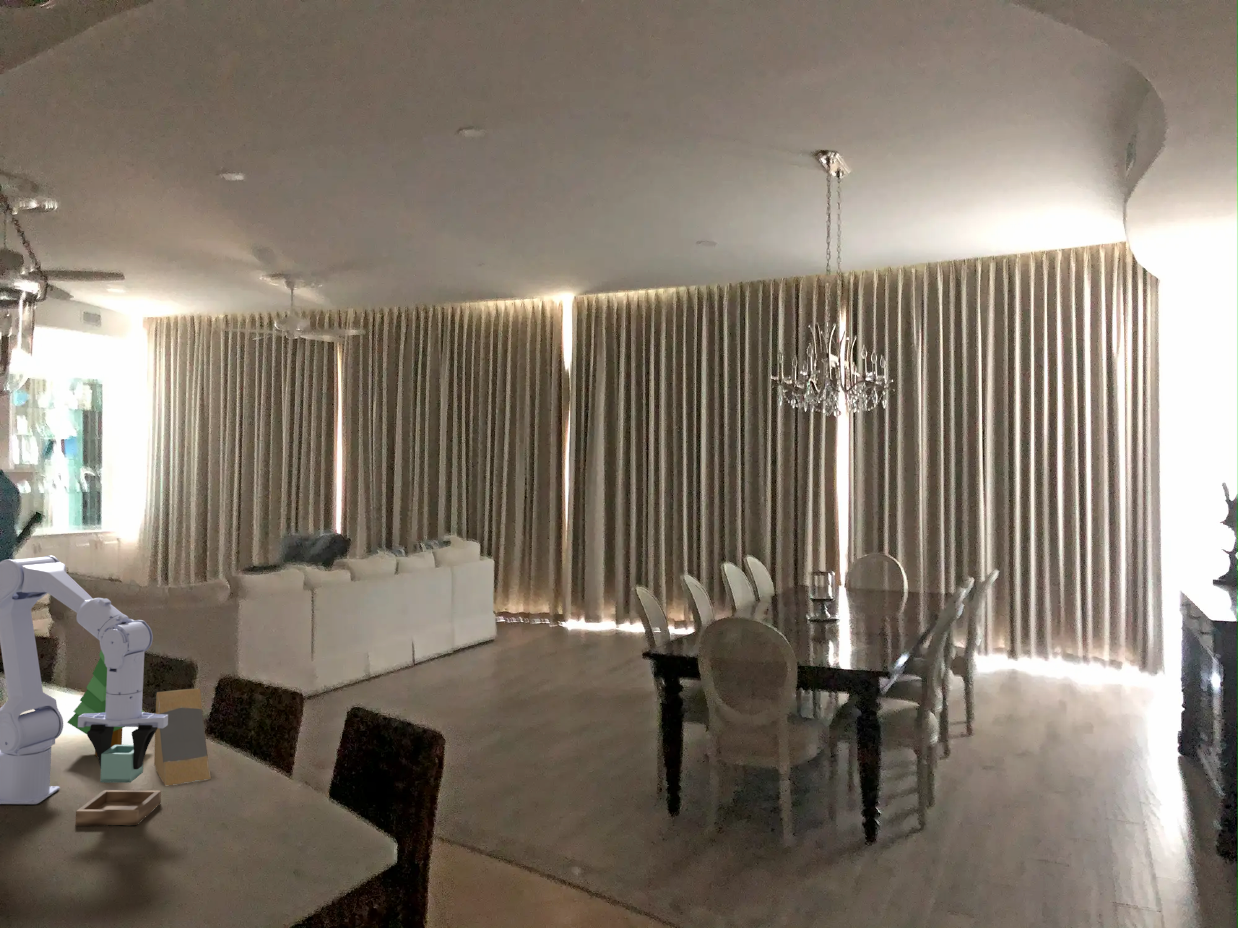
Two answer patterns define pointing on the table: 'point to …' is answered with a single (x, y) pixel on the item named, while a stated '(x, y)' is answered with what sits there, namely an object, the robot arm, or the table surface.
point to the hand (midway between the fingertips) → (121, 767)
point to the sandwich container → (181, 738)
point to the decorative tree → (96, 701)
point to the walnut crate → (118, 807)
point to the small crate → (119, 765)
